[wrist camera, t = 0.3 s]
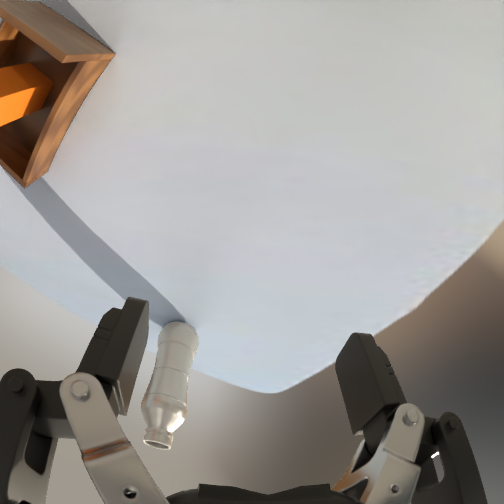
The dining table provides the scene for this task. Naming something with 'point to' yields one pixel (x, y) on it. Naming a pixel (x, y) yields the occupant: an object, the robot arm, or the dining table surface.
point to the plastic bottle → (169, 384)
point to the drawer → (56, 69)
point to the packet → (22, 91)
